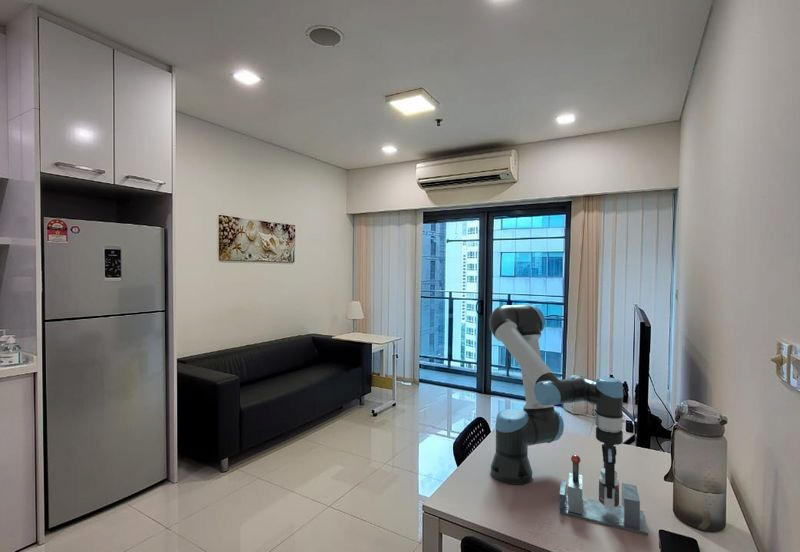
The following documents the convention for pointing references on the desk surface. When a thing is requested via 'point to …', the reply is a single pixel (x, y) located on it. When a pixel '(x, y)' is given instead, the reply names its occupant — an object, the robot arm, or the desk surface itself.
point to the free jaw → (575, 487)
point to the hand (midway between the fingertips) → (608, 502)
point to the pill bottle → (601, 488)
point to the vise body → (609, 510)
